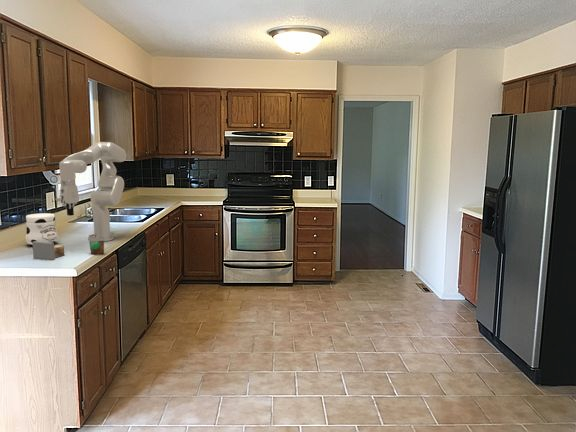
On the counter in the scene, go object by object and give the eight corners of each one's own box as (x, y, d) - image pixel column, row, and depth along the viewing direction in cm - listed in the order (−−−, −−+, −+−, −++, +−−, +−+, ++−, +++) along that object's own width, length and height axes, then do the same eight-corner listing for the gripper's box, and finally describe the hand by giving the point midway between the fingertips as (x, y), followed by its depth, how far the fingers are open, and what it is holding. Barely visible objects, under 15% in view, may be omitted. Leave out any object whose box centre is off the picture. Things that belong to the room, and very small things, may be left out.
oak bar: (57, 254, 264) (57, 245, 263) (64, 254, 263) (63, 245, 262) (44, 258, 255) (43, 249, 254) (51, 258, 253) (50, 249, 253)
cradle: (51, 253, 263) (51, 246, 262) (64, 254, 261) (63, 247, 260) (39, 257, 254) (38, 250, 254) (52, 258, 252) (51, 251, 251)
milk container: (53, 247, 279) (52, 217, 277) (21, 248, 276) (19, 217, 273) (61, 241, 296) (59, 212, 293) (31, 242, 293) (29, 213, 290)
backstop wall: (36, 257, 255) (35, 241, 253) (55, 259, 252) (53, 242, 250) (33, 258, 253) (32, 241, 251) (52, 260, 250) (51, 243, 248)
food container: (85, 252, 268) (84, 235, 266) (95, 250, 272) (95, 233, 271) (94, 256, 259) (93, 238, 258) (105, 254, 264) (104, 236, 262)
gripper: (64, 184, 258) (66, 217, 261) (82, 182, 272) (85, 213, 276) (52, 184, 260) (55, 217, 263) (71, 181, 274) (74, 212, 278)
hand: (70, 215), depth 269 cm, fingers closed
